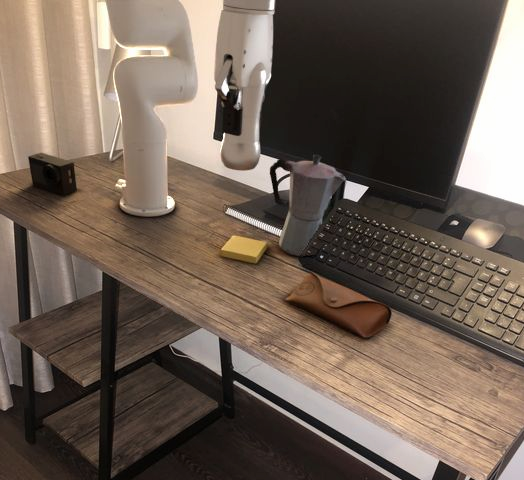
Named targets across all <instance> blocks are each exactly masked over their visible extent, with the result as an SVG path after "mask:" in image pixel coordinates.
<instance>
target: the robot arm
mask: <svg viewBox="0 0 524 480" xmlns="http://www.w3.org/2000/svg"><path fill="white" fill-rule="evenodd" d="M105 5H106V11H107V15H108V19H109V24H110V30H111V33H112V37H113V38H114V40H115V43H116V44H117V45H118V46H119V47H121V48H124V49H128V50H163V52H164V55H156V54H155V55H153V54H151V55H150V54H149V55H132V56H126V57H124V58H121V59H119V61H118V62H117V63H116V65H115V67H113V75H112V76H113V84H114V89H115V94H116V98H117V102H118V103H117V104H118V109H119V116H120V124H121V138H122V139H121V140H122V153H123V154H122V155H123V170H124V171H123V172H124V179H118V180H117V181H116V184H115V185H114V188H113V189H114V191H116V192H120V193H122V197H121V198H120V199H119V208H120V209H121V210H122V211H123V212H125V213H127V214H129V215H132V216H137V217H159V216H163V215H167V214H169V213H171V212H172V211H173V210H174V209H175V203H176V202H175V200H174V199H173V198H172V197H171V196H169V190H168V189H169V188H168V187H169V185H168V184H169V182H168V141H167V140H168V139H167V138H168V137H167V135H168V134H167V133H168V132H167V128H166V124H165V122H164V121H163V119H162V118H161V117H160V115H159V114H158V112H157V111H156V108H159V107H167V106H180V105H181V106H182V105H187V104H190V103H192V102H193V101H194V100H195V98H196V97H197V95H198V88H199V80H198V70H197V63H196V57H195V51H194V43H193V38H192V31H191V24H190V20H189V15H188V13H187V10H186V8H185V7H184V5H183V3H182V2H181V1H180V0H105ZM275 9H276V0H222V9H221V12H220V15H219V21H218V27H217V33H216V43H215V55H214V69H213V70H214V72H213V80H214V82H215V84H214V89H215V90H216V92H217V94H218V95H219V99H220V101H221V107H223V108H222V133H223V134H224V133H227V134H231V135H235V136H240V135H241V130H242V113H243V109H240V106H241V101H242V96H243V89H244V88H246V87H248V83H249V78H250V75H251V72H252V71H253V69H254V67H255V66H256V64H257V63H259V62H262V63H263V64H264V66H265V68H266V73H267V79H266V83H265V89H264V93H263V98H262V103H261V111H260V118H259V129H260V128H261V127H262V126H261V125H262V114H263V102H264V101H265V92H266V90H267V88H268V87H267V86H268V84H269V82H270V80H271V79H272V78H271V77H272V65H273V49H274V15H275ZM231 79H232V80H236V83H235V85H236V86H234V85H229V81H230V80H231ZM230 90H235V91H236V96H235V97H234V95H233V93H232V92H230Z"/></svg>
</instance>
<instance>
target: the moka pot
mask: <svg viewBox="0 0 524 480" xmlns="http://www.w3.org/2000/svg"><path fill="white" fill-rule="evenodd" d="M321 159H322V156H321V155H319V154H313V157H312V161H311V160H300V161H297V162H295V161H293V160H286V159H284V158H282V157H280V158H279V159H277V160H276V162H274V163H273V164H271V166H270V167H269V177H270V180H271V185H272V190H273V191H272V192H273V197H274V198H273V199H274V203H275V204H277V205H280V206H284V207H285V206H286V205H287V202H286V200H283V199H281V198H280V193H279V183H278V176H277V169H280V168H281V169H283V170H284V171H285V172H289V177H290V178H289V192H288V193H289V194H288V195H289V196H288V200H289V203H288V212H287V215H286V218H285V221H284V225H283V227H282V230H281V233H280V236H279V240H278V245H279V247H280V248H281V250H283V251H284V252H286V253H287V254H289V255H293V256H297V257H301V256H300V255H301V252H302V251H303V249H304V248H305V247H306V246H307V244H308V242H309V240H310V239H311V238H312V237H313V235H314V234H315V233H316V231H317V230H318V228H319V227H320V225H321V224H322V225H323V217H324V214H325V211H326V210H327V209H328V207H329V203H330V200H331V198H332V196H333V195H334V194H335V193H336V191H337V190H338V189H339V187H341V185H342V183H343V182H346V180H347V179H346V176H345V175H344V174H343V173H341V172H339V171H337V169H336V168H335V167H334V166H331V165H329V164H326V163H323V162H321Z"/></svg>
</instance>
